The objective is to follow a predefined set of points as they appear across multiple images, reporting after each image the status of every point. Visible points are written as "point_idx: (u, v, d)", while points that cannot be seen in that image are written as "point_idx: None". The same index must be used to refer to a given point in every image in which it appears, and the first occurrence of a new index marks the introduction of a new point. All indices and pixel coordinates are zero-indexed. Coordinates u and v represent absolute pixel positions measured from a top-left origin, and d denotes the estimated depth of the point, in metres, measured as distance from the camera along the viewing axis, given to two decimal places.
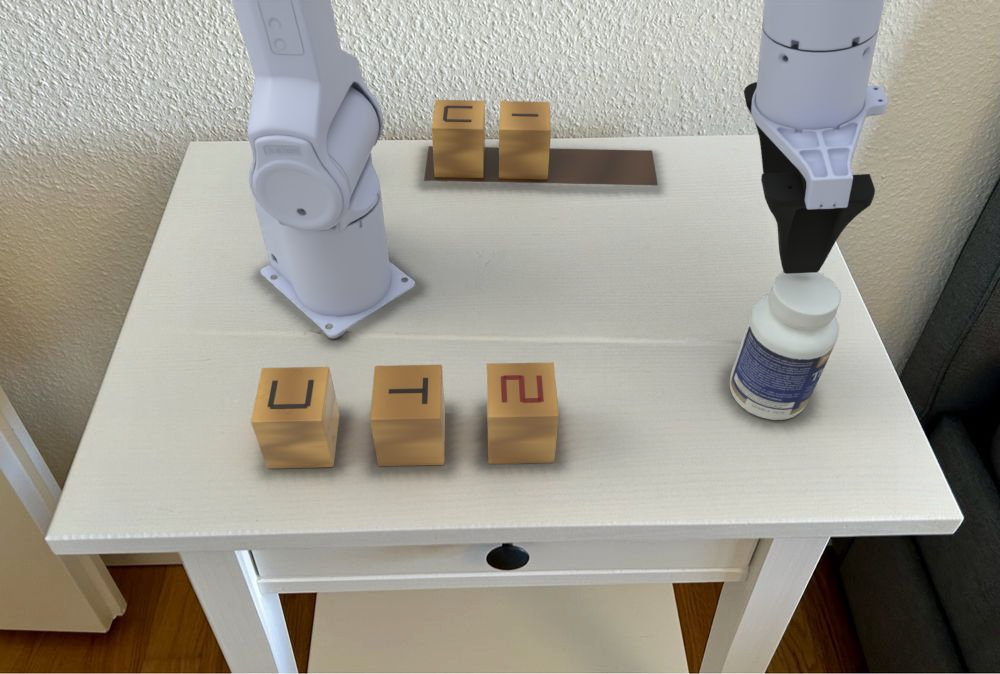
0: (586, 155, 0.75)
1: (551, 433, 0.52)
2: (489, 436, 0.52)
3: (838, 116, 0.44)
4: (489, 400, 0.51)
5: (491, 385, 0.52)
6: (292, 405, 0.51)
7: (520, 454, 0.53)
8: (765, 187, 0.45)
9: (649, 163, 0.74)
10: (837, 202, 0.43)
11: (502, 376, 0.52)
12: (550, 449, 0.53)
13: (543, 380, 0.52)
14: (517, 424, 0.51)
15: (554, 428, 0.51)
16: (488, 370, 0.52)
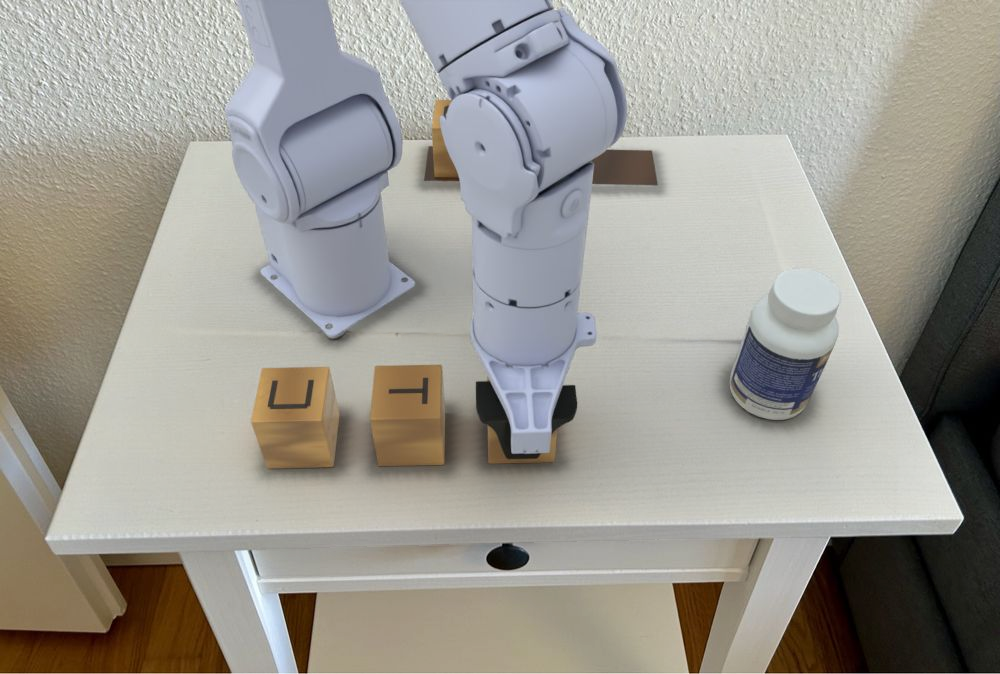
0: None
1: None
2: (489, 436, 0.52)
3: (546, 355, 0.45)
4: None
5: None
6: (292, 405, 0.51)
7: None
8: (476, 398, 0.47)
9: (649, 163, 0.74)
10: (539, 449, 0.44)
11: None
12: (550, 448, 0.53)
13: None
14: None
15: None
16: None
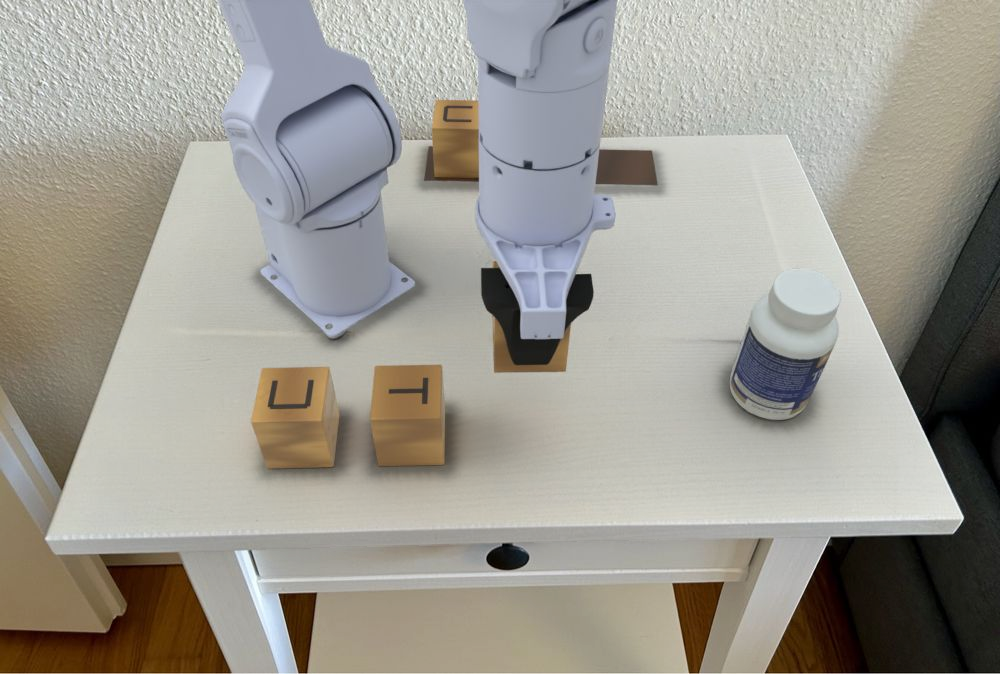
0: None
1: None
2: (495, 338, 0.47)
3: (560, 233, 0.41)
4: None
5: None
6: (292, 405, 0.51)
7: None
8: (482, 285, 0.42)
9: (649, 163, 0.74)
10: (552, 333, 0.39)
11: None
12: (562, 354, 0.48)
13: None
14: None
15: (567, 328, 0.46)
16: (494, 267, 0.48)
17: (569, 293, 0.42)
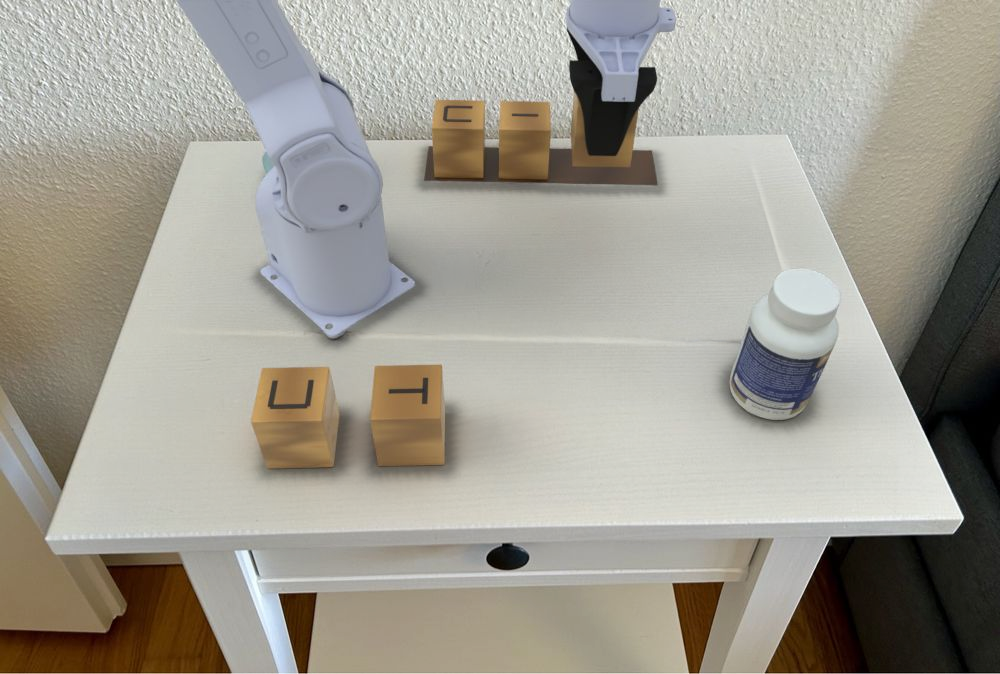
0: None
1: (630, 129, 0.59)
2: (576, 131, 0.59)
3: (633, 26, 0.53)
4: None
5: None
6: (292, 405, 0.51)
7: None
8: (570, 70, 0.54)
9: (649, 163, 0.74)
10: (626, 96, 0.51)
11: None
12: (628, 149, 0.60)
13: None
14: None
15: (633, 123, 0.59)
16: None
17: (638, 78, 0.54)
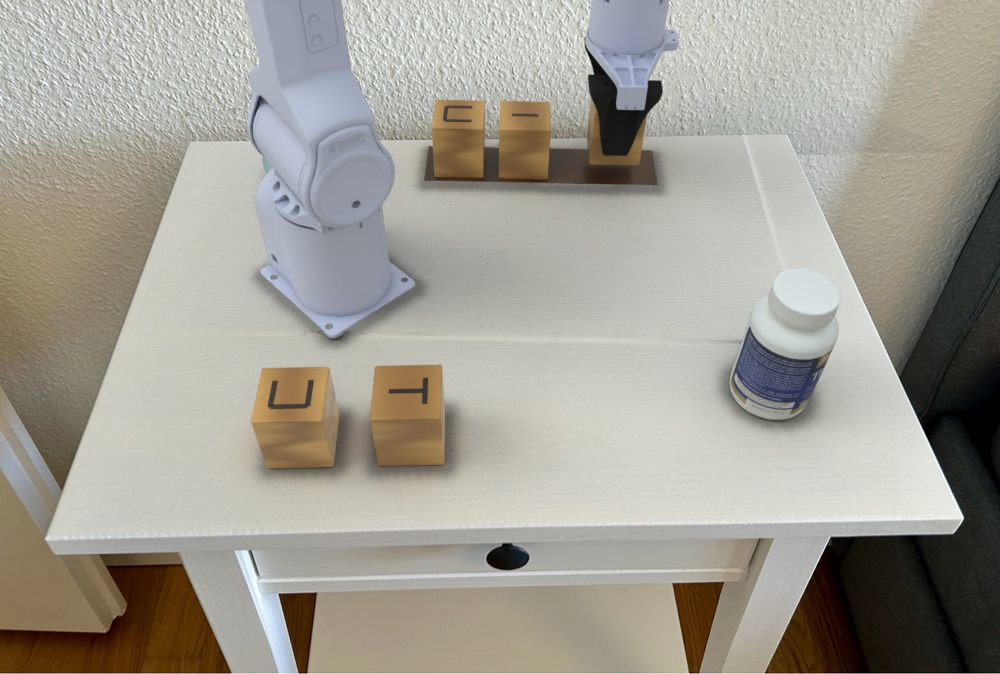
0: (586, 155, 0.75)
1: (639, 133, 0.69)
2: (593, 134, 0.69)
3: (643, 46, 0.63)
4: None
5: None
6: (292, 405, 0.51)
7: None
8: (589, 83, 0.64)
9: (649, 163, 0.74)
10: (637, 105, 0.61)
11: None
12: (637, 150, 0.70)
13: None
14: None
15: (642, 127, 0.68)
16: None
17: (647, 90, 0.64)
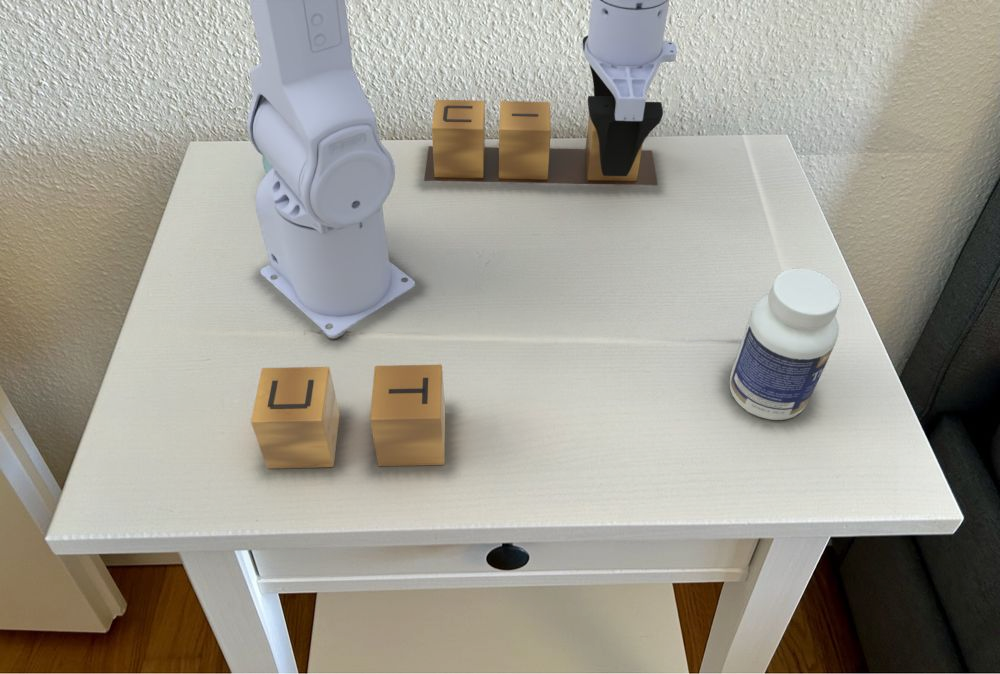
0: None
1: None
2: (591, 150, 0.70)
3: (641, 58, 0.63)
4: None
5: None
6: (292, 405, 0.51)
7: None
8: (589, 105, 0.64)
9: (649, 163, 0.74)
10: (635, 116, 0.62)
11: None
12: (635, 166, 0.71)
13: None
14: None
15: None
16: None
17: (647, 112, 0.64)
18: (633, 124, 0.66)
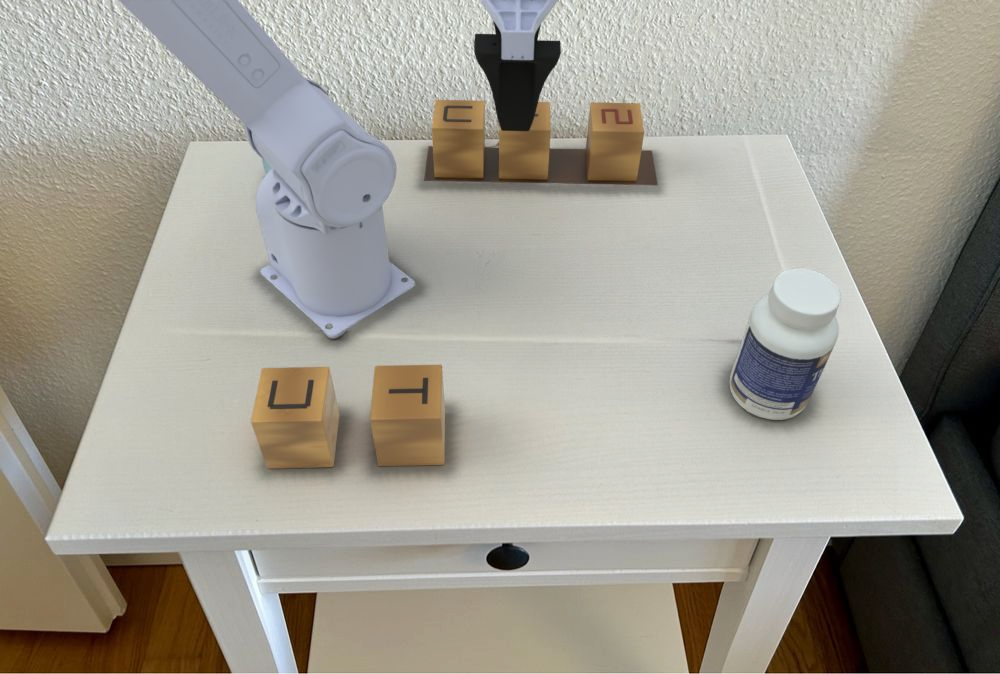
0: None
1: (637, 150, 0.70)
2: (591, 150, 0.70)
3: None
4: (593, 122, 0.70)
5: (594, 113, 0.70)
6: (292, 405, 0.51)
7: (612, 171, 0.72)
8: (475, 43, 0.55)
9: (649, 163, 0.74)
10: (524, 54, 0.53)
11: (602, 109, 0.71)
12: (635, 166, 0.71)
13: (632, 112, 0.71)
14: (613, 139, 0.69)
15: (640, 144, 0.70)
16: (591, 105, 0.71)
17: (541, 51, 0.54)
18: (529, 68, 0.56)
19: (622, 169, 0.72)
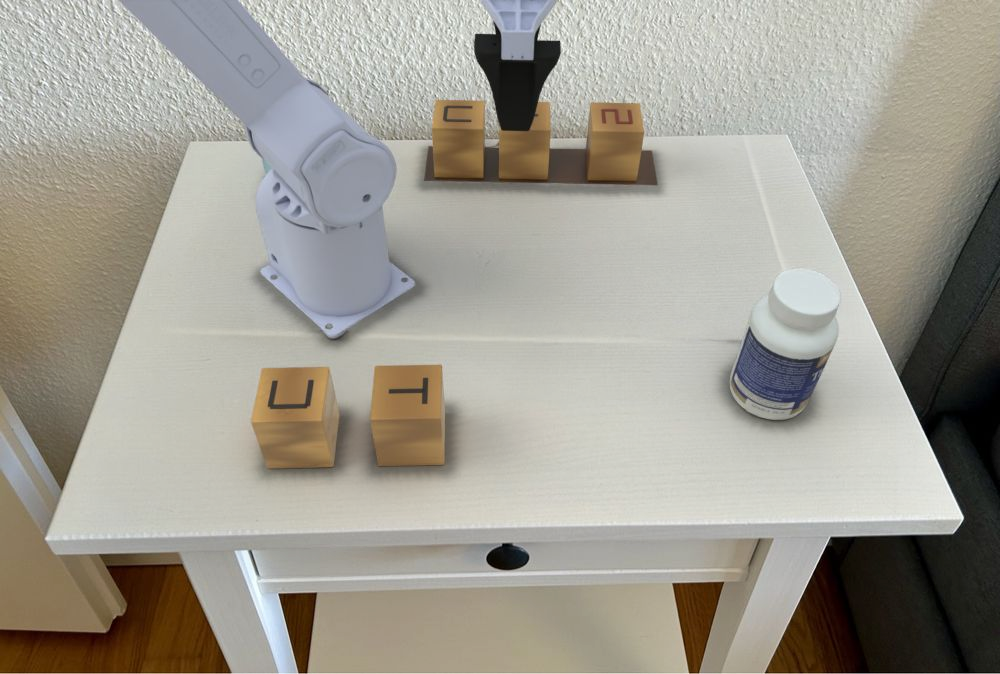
0: None
1: (637, 150, 0.70)
2: (591, 150, 0.70)
3: None
4: (593, 122, 0.70)
5: (594, 113, 0.70)
6: (292, 405, 0.51)
7: (612, 171, 0.72)
8: (475, 43, 0.55)
9: (649, 163, 0.74)
10: (524, 54, 0.53)
11: (602, 109, 0.71)
12: (635, 166, 0.71)
13: (632, 112, 0.71)
14: (613, 139, 0.69)
15: (640, 144, 0.70)
16: (591, 105, 0.71)
17: (541, 51, 0.54)
18: (529, 67, 0.56)
19: (622, 169, 0.72)
